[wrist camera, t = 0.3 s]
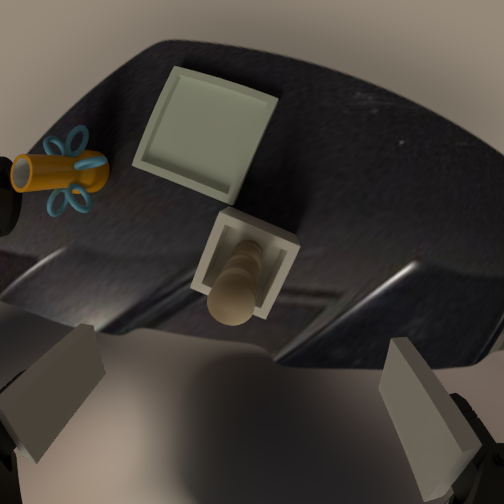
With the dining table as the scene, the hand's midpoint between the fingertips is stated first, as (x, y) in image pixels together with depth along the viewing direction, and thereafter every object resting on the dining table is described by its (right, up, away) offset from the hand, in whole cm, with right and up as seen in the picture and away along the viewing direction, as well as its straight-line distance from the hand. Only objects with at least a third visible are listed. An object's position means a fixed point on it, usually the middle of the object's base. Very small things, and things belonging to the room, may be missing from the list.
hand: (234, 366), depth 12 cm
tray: (-5, +20, +23) cm, 31 cm away
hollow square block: (0, +5, +26) cm, 27 cm away
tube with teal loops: (-22, +16, +26) cm, 37 cm away
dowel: (0, +5, +26) cm, 26 cm away
